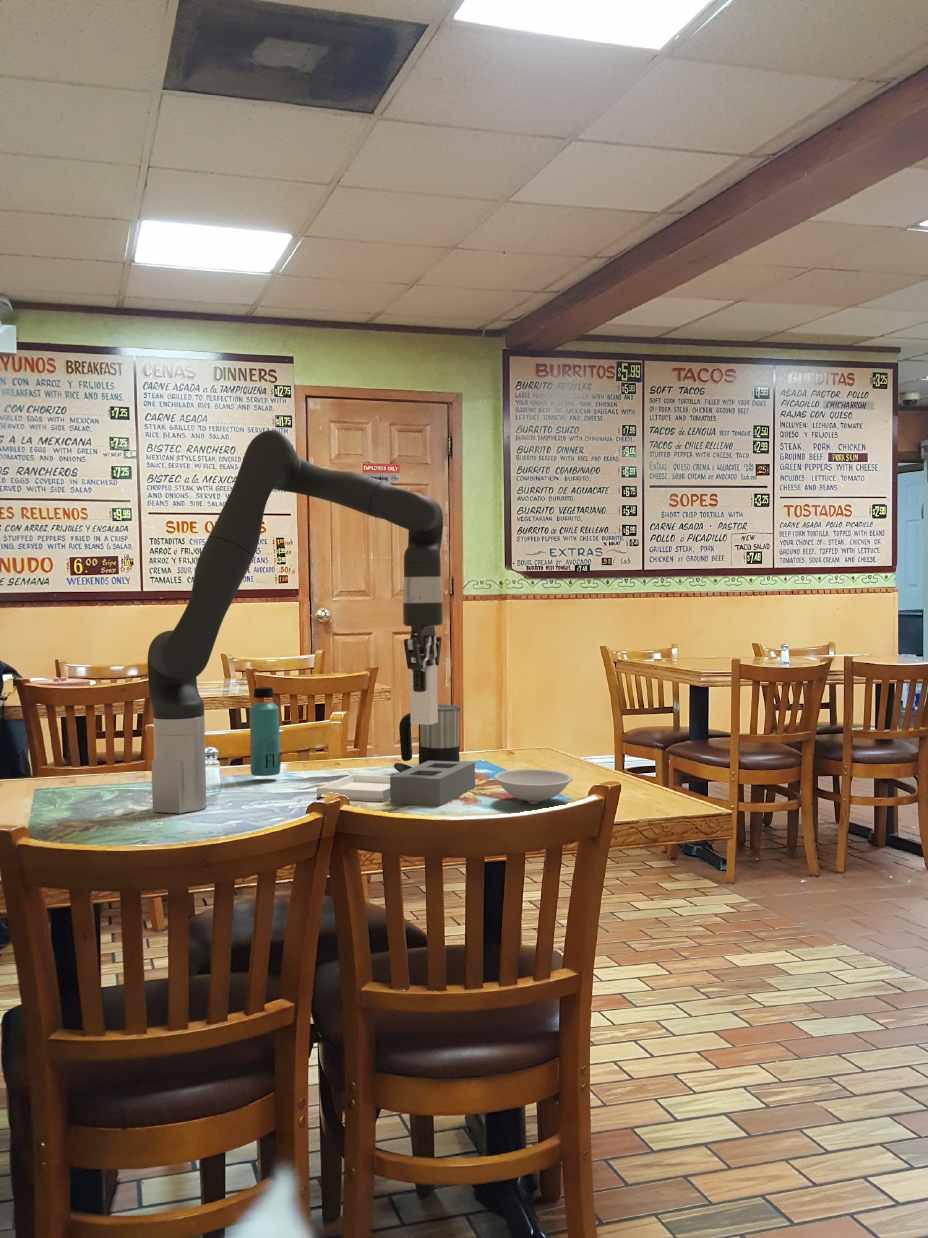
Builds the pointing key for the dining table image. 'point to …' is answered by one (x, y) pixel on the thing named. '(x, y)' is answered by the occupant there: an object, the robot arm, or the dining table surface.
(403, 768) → the milk frother
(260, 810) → the dining table surface
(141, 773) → the dining table surface
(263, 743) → the beverage bottle
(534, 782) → the dish
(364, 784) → the tray
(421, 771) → the slotted block
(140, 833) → the dining table surface
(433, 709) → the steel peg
